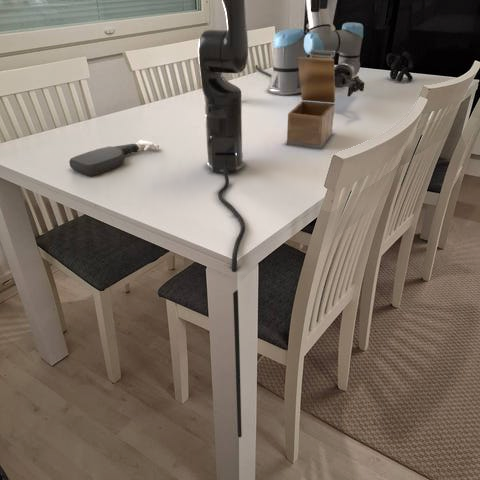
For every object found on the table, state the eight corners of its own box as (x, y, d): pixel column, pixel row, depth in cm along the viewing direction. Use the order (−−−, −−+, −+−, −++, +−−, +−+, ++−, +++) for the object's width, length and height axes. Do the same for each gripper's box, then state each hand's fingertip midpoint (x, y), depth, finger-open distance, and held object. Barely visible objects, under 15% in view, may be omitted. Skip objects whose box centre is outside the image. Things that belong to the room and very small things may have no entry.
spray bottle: (67, 168, 120) (139, 144, 136) (91, 178, 114) (163, 151, 130) (65, 157, 118) (137, 134, 134) (89, 167, 112) (162, 142, 128)
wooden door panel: (333, 61, 123) (340, 41, 127) (297, 59, 126) (305, 40, 130) (334, 103, 135) (341, 84, 139) (301, 100, 139) (309, 81, 142)
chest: (320, 148, 129) (322, 117, 124) (286, 144, 133) (287, 113, 128) (331, 133, 141) (334, 103, 136) (300, 129, 144) (302, 100, 139)
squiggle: (400, 92, 202) (376, 71, 205) (417, 76, 202) (392, 56, 205) (405, 81, 191) (380, 59, 194) (423, 64, 191) (397, 42, 194)
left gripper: (316, -62, 117) (312, 7, 125) (301, -64, 106) (297, 12, 114) (345, -63, 114) (339, 8, 123) (332, -65, 103) (326, 13, 112)
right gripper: (375, 89, 159) (365, 105, 142) (307, 82, 167) (290, 97, 151) (379, 67, 154) (369, 81, 138) (309, 61, 163) (291, 74, 146)
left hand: (319, 10), depth 118 cm, fingers open, 8 cm apart
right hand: (328, 89), depth 144 cm, fingers open, 13 cm apart
